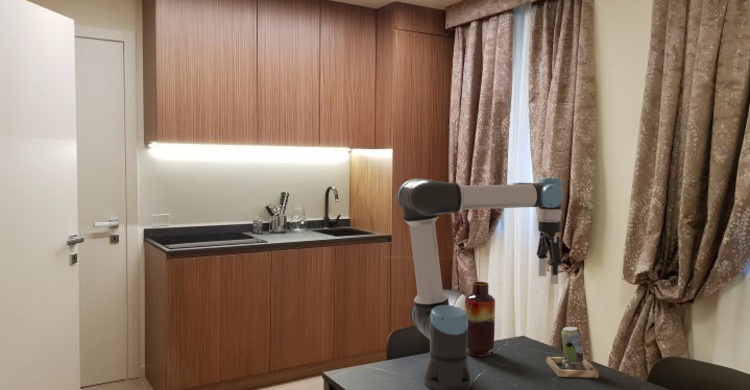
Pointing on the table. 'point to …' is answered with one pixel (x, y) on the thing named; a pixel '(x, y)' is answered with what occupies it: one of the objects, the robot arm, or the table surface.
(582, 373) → the peg frame
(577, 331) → the beverage can
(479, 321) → the vase
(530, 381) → the table surface
